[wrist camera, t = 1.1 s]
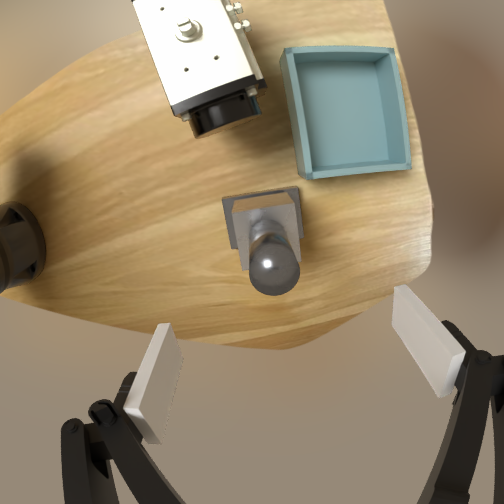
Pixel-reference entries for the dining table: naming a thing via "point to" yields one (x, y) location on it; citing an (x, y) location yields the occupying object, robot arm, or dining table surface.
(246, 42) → the ball valve
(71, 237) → the dining table surface
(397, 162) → the bin
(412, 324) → the robot arm
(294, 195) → the stud plate
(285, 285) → the block with domed cylinder
